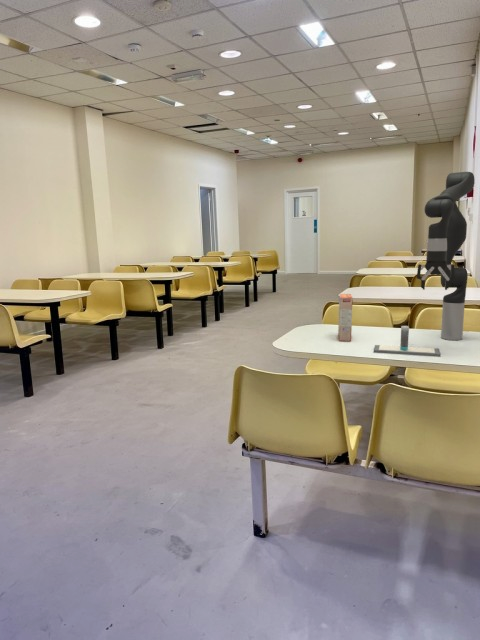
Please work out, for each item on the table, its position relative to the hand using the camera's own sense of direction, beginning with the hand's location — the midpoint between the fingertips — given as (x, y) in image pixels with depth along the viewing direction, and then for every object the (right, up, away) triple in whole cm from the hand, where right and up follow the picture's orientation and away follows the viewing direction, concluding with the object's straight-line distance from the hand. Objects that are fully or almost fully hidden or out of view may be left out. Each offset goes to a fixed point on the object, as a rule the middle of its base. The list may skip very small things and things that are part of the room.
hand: (434, 289), depth 193 cm
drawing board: (-10, -26, +4) cm, 28 cm away
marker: (-12, -25, +2) cm, 28 cm away
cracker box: (-30, -22, +32) cm, 49 cm away
